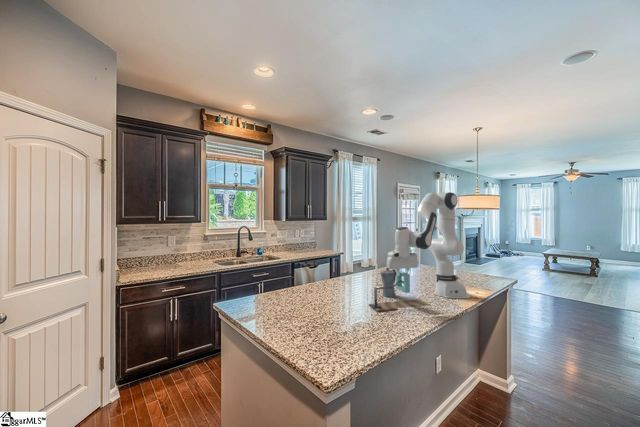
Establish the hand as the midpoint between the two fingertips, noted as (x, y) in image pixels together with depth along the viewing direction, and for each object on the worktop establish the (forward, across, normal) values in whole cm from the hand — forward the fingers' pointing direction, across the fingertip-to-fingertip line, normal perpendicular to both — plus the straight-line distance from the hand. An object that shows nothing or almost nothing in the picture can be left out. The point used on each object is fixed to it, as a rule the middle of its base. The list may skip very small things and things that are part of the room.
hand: (402, 275), depth 173 cm
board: (+19, +2, 0) cm, 19 cm away
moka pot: (+19, -1, -20) cm, 27 cm away
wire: (+18, +8, 0) cm, 19 cm away
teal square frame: (+9, 0, 0) cm, 9 cm away
